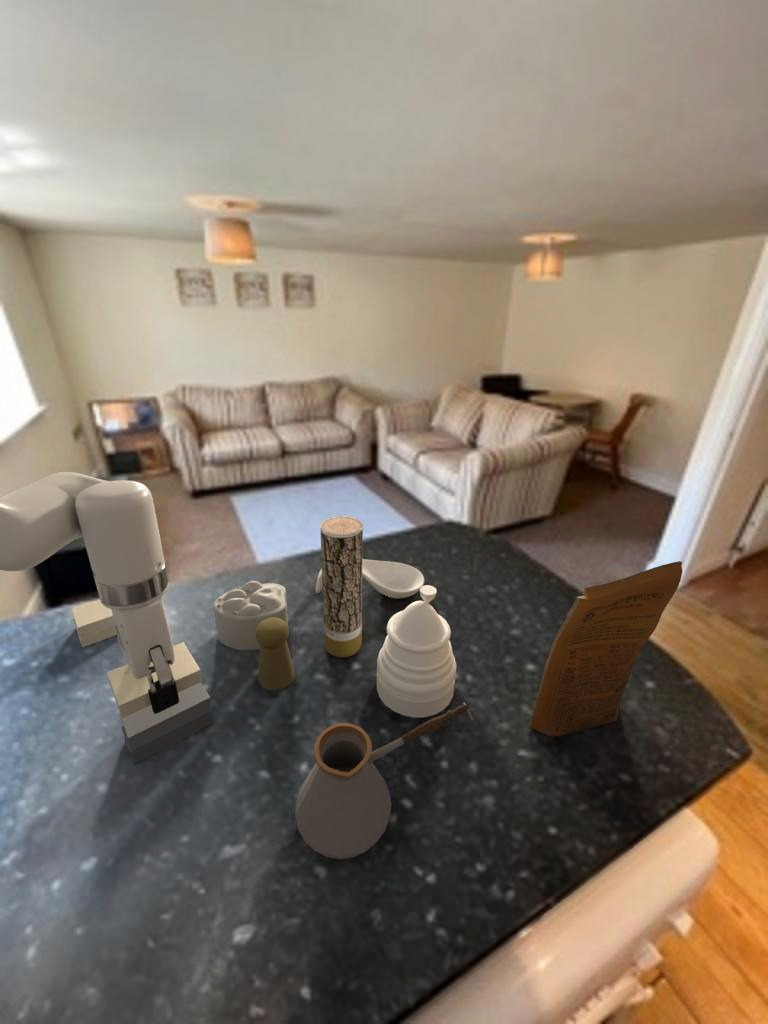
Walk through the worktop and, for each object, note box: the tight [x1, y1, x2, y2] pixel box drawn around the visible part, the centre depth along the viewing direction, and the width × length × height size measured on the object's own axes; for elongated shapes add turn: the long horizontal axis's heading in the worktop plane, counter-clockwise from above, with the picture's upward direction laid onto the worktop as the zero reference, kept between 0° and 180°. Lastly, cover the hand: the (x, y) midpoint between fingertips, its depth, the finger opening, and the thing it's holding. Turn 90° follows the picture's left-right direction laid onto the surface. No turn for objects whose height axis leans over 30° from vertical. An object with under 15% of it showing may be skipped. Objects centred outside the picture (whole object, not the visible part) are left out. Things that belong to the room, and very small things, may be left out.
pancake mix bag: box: [528, 560, 684, 738], centre depth 63 cm, size 7×19×28 cm, turn 106°
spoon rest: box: [314, 558, 425, 599], centre depth 97 cm, size 24×12×7 cm, turn 91°
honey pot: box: [376, 584, 457, 718], centre depth 71 cm, size 13×13×18 cm
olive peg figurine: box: [255, 618, 296, 691], centre depth 73 cm, size 6×6×11 cm
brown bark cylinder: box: [319, 515, 364, 658], centre depth 77 cm, size 7×7×25 cm
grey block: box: [119, 682, 215, 765], centre depth 64 cm, size 11×5×5 cm, turn 130°
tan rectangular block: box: [70, 599, 117, 648], centre depth 85 cm, size 10×7×4 cm
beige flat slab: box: [106, 641, 203, 718], centre depth 61 cm, size 10×7×2 cm
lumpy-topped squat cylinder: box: [212, 580, 290, 651], centre depth 84 cm, size 10×13×9 cm
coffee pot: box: [294, 702, 474, 860], centre depth 53 cm, size 21×12×15 cm, turn 106°
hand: (157, 688), depth 62 cm, fingers closed on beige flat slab, 7 cm apart
